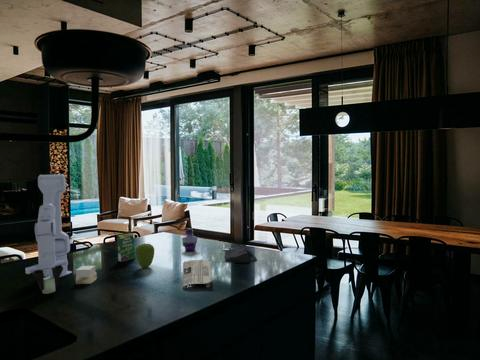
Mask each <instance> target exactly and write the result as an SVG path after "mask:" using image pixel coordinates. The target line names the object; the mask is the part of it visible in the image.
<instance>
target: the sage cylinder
mask: <svg viewBox="0 0 480 360" xmlns="http://www.w3.org/2000/svg"><path fill="white" fill-rule="evenodd" d="M43 284H44V290H41V292H42V294H44V295H46V294H48V295H49V294H52V293H55V292H56V287H55V277H46V276H45V277H43Z"/></svg>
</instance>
